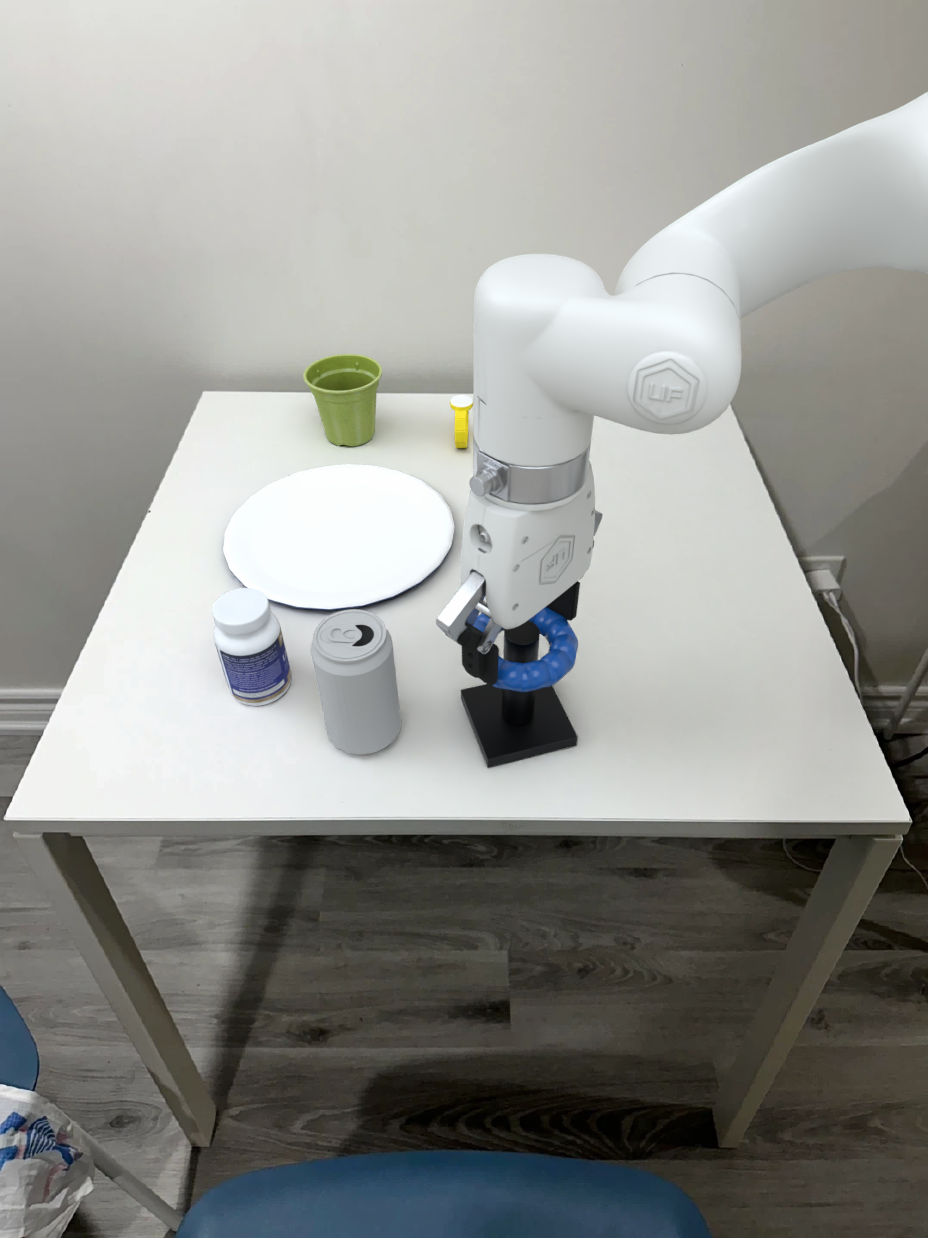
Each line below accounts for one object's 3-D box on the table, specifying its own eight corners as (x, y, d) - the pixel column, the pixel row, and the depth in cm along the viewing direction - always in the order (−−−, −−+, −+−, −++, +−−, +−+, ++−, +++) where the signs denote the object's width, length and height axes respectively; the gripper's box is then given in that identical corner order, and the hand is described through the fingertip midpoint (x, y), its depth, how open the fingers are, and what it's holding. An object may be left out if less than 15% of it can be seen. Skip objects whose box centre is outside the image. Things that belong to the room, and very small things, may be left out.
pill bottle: (304, 685, 78) (288, 606, 71) (251, 718, 75) (228, 640, 68) (269, 652, 81) (250, 573, 74) (217, 683, 78) (191, 604, 71)
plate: (183, 594, 87) (180, 585, 86) (278, 459, 104) (276, 450, 103) (419, 634, 82) (418, 625, 81) (477, 486, 100) (477, 477, 99)
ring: (552, 606, 72) (554, 587, 71) (593, 682, 66) (596, 662, 65) (450, 628, 71) (450, 609, 69) (483, 708, 64) (483, 689, 63)
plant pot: (299, 432, 108) (288, 369, 102) (360, 407, 112) (354, 345, 106) (339, 464, 103) (330, 400, 97) (402, 437, 107) (397, 374, 101)
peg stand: (544, 678, 78) (551, 588, 70) (577, 745, 72) (589, 656, 65) (460, 698, 76) (458, 608, 69) (487, 768, 71) (488, 679, 63)
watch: (452, 429, 108) (451, 387, 104) (474, 429, 108) (474, 387, 104) (449, 455, 104) (448, 412, 100) (472, 456, 104) (471, 413, 100)
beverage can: (398, 760, 72) (388, 664, 63) (322, 759, 72) (302, 663, 63) (404, 702, 76) (394, 605, 68) (332, 701, 76) (314, 604, 68)
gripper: (483, 546, 49) (481, 731, 61) (654, 427, 58) (623, 609, 70) (394, 493, 53) (409, 677, 65) (568, 389, 62) (552, 568, 74)
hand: (520, 641), depth 67 cm, fingers closed on ring, 9 cm apart
